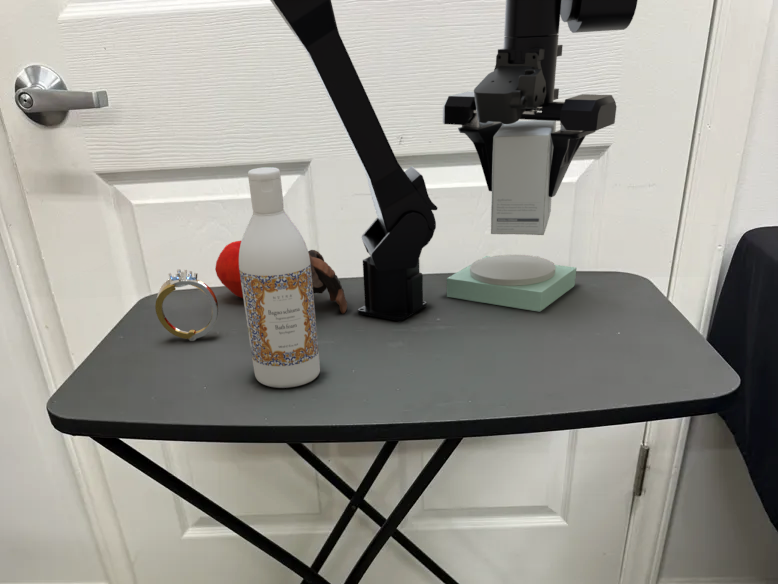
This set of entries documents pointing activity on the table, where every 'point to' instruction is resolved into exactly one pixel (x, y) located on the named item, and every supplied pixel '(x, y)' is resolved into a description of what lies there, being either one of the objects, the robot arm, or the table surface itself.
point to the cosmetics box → (521, 177)
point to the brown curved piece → (326, 280)
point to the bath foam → (277, 289)
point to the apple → (230, 268)
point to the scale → (512, 281)
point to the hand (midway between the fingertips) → (521, 193)
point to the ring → (169, 287)
